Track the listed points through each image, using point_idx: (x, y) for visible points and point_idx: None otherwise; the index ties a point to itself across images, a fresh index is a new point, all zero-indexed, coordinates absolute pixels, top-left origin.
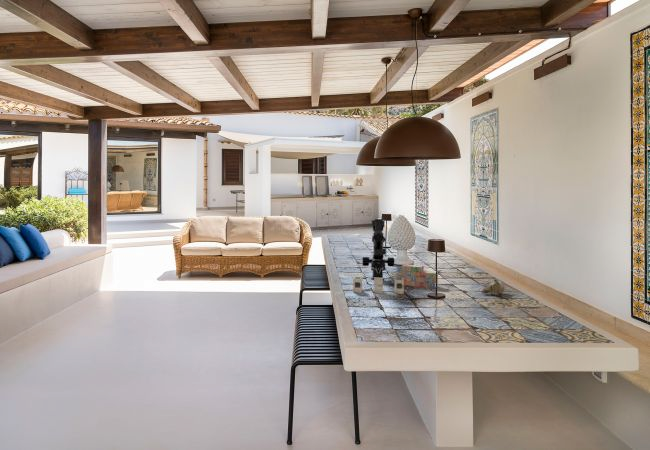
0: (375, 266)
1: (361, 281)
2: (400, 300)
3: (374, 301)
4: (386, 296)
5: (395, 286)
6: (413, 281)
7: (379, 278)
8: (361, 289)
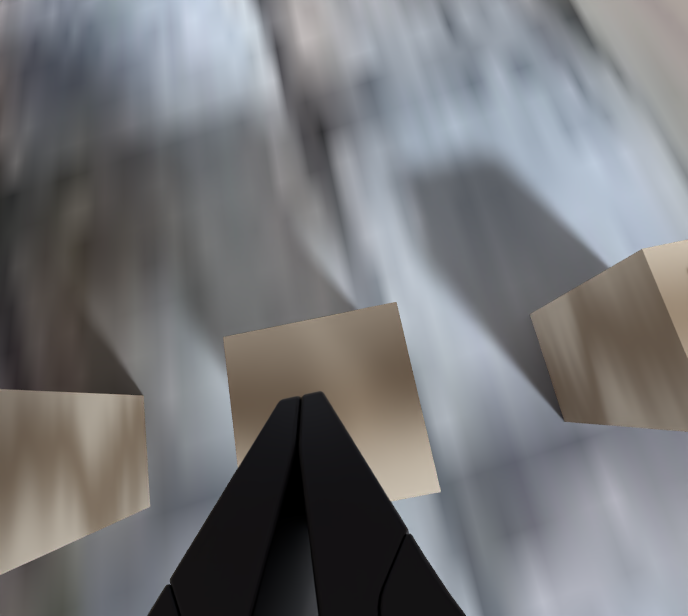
0: None
1: (618, 263)
2: (86, 134)
3: (309, 33)
4: (224, 233)
5: (74, 394)
6: None
7: None
8: (550, 303)
